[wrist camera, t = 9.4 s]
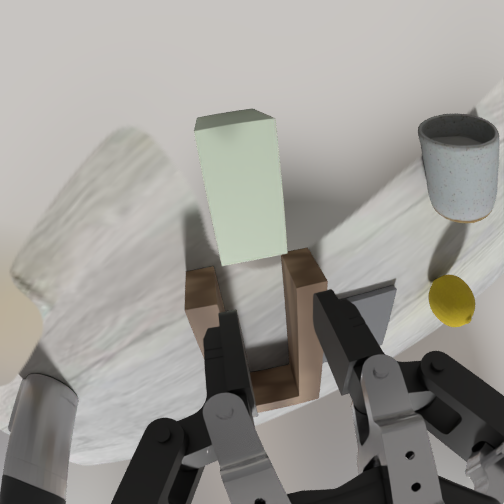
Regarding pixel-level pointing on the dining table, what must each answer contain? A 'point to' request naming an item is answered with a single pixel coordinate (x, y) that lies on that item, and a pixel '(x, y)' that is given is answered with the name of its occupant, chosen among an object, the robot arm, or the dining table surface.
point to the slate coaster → (375, 310)
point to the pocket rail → (298, 329)
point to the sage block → (243, 184)
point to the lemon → (451, 300)
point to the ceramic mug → (460, 165)
